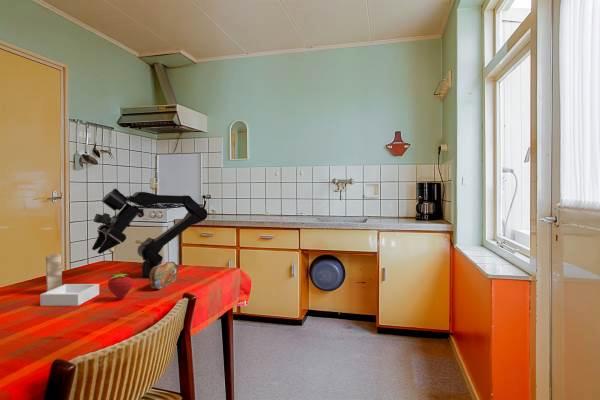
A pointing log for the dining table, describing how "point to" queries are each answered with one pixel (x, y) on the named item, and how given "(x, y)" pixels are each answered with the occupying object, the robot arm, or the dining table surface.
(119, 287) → the strawberry
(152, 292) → the dining table surface
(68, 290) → the box
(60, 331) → the dining table surface
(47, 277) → the birch block
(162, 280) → the tin
